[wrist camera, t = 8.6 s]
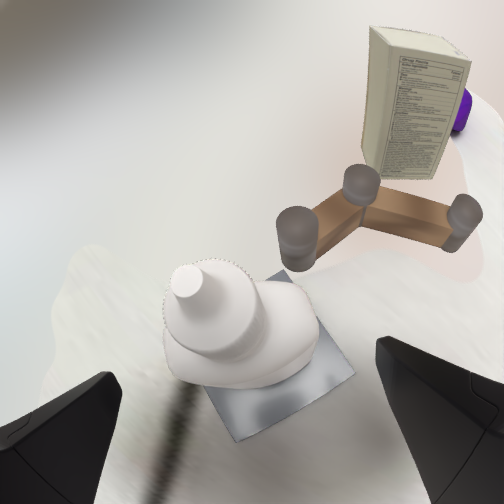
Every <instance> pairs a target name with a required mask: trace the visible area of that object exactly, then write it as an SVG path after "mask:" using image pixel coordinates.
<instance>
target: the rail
mask: <svg viewBox="0 0 504 504" xmlns="http://www.w3.org/2000/svg"><path fill="white" fill-rule="evenodd" d="M380 181H381V179H380V176H379V174H378V173H377V171H376V170H375V169H373V168H372V167H370V166H367V165H363V164H355V165H352V166H350V167H348V168H347V169H346V171H345V174H344V182H343V188H342V189H341V190H339V191H338V192H336V193H335V194H333V195H332V196H331V197H329V198H328V199H326V200H325V201H323V202H322V203H320V204H319V205H318V206H316V207H315V208H313V209H312V210H310V209H308V208H306V207H302V206H293V207H289V208H287V209H285V210H283V211H282V212H281V213H280V214H279V216H278V217H277V220H276V228H277V235H278V241H279V247H280V254H281V260H282V263H283V264H284V266H285V267H286V268H287V269H289V270H291V271H293V272H303V271H306V270H308V269H310V268H311V267H312V266H313V265H314V263H315V261H316V260H317V259H318V258H319V257H321V256H322V255H323V254H325V253H326V252H327V251H329V250H330V249H331V248H332V247H334V246H335V245H336V244H338V243H339V242H340V241H341V240H343V239H344V238H345V237H346V236H348V235H349V234H350V233H352V232H353V231H354V230H355V229H356V228H358V227H361V226H362V227H366V228H370V229H374V230H378V231H381V232H385V233H389V234H393V235H397V236H400V237H404V238H408V239H411V240H415V241H419V242H422V243H425V244H429V245H432V246H436V247H439V248H441V249H442V250H444V251H446V252H449V253H453V252H456V251H457V250H458V249H459V248H460V247H461V245H462V244H463V243H464V242H465V240H466V239H467V238H468V237H469V236H470V234H471V233H472V232H473V230H474V229H475V228H476V227H477V225H478V224H479V223H480V221H481V220H482V218H483V212H482V209H481V206H480V205H479V203H478V202H477V201H476V200H475V199H474V198H473V197H471V196H469V195H467V194H459V195H457V196H456V198H455V200H454V201H453V203H452V205H451V206H447V205H444V204H441V203H438V202H435V201H431V200H428V199H425V198H421V197H418V196H415V195H411V194H408V193H404V192H400V191H396V190H393V189H389V188H385V187H381V186H380Z"/></svg>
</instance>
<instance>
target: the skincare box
mask: <svg viewBox="0 0 504 504" xmlns="http://www.w3.org/2000/svg"><path fill="white" fill-rule="evenodd" d="M369 27H370V29H369V30H370V32H369V64H368V82H367V95H366V106H365V116H364V126H363V134H362V141H361V148H362V152H363V155H364V158H365V161H366V165H367V166H370V167H372V168H373V169H375V170H376V171H377V173H378V174H379V176H380V179H417V180H418V179H432V178H433V176H434V174H435V172H436V169H437V167H438V164H439V162H440V160H441V157H442V155H443V152H444V149H445V147H446V144H447V141H448V139H449V136H450V133H451V131H452V128H453V125H454V122H455V119H456V116H457V113H458V110H459V106H460V103H461V100H462V97H463V93H464V89H465V85H466V82H467V78H468V74H469V71H470V66H471V62H472V61H471V60H470V59H468V57H466V56H465V55H464V54H463V53H462V52H461V51H459V50H458V49H457V48H456V47H455V46H453V45H452V44H451V43H450V42H448V41H447V40H446V39H445V38H443V37H441V36H437V35H433V34H428V33H423V32H417V31H412V30H405V29H398V28H391V27H382V26H373V25H371V26H369Z"/></svg>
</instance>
